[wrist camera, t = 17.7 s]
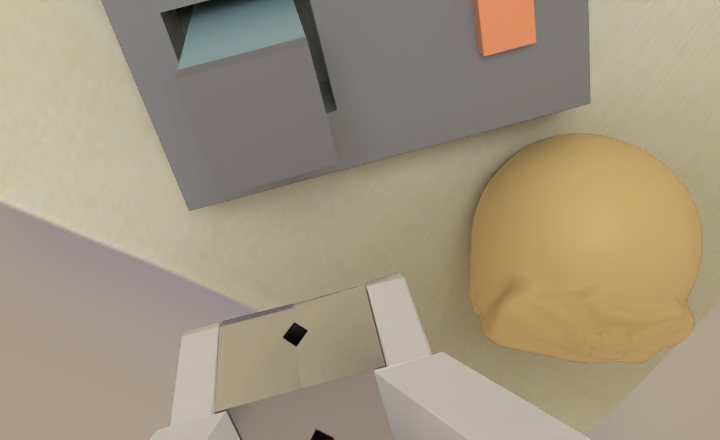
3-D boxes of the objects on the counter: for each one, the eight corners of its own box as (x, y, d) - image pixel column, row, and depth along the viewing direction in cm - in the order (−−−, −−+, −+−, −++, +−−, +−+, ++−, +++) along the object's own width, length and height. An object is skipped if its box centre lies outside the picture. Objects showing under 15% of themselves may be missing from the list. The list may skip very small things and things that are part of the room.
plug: (286, -20, 30) (308, 44, 21) (309, 69, 32) (339, 163, 23) (194, 3, 30) (175, 79, 21) (224, 92, 32) (219, 196, 23)
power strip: (542, -180, 28) (594, -183, 24) (555, 77, 35) (598, 109, 31) (98, -67, 28) (74, -50, 24) (194, 173, 34) (188, 219, 30)
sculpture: (424, 273, 40) (479, 402, 31) (495, 91, 35) (588, 183, 26) (581, 296, 43) (674, 420, 34) (669, 133, 38) (808, 228, 29)
